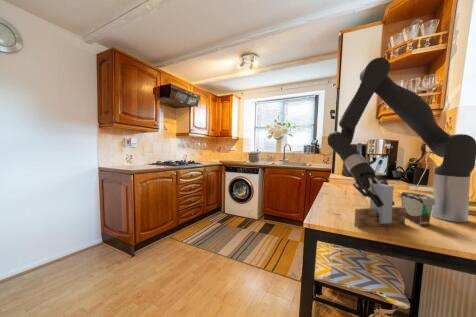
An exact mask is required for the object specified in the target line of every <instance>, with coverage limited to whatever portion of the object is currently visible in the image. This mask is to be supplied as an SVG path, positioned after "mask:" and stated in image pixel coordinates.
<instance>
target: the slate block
mask: <svg viewBox="0 0 476 317" xmlns="http://www.w3.org/2000/svg"><path fill="white" fill-rule="evenodd" d="M371 185H372V186H373V187H374V191H375V192H376V195H377V196H378V197H379V198H380V200H381V201H382V202H383V204H384V205H383V206H381V207H377V206H376V205H375V204H374V202H373V201H372V199H371V198H369V200H370V202H369V208H374V209H377V210H376V216H379V223H381V224H386V223H391V222H392V207H393V206H392V203H393V201H394V185H391V184H388V185H386V184H371Z"/></svg>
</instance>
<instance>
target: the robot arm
mask: <svg viewBox="0 0 476 317" xmlns="http://www.w3.org/2000/svg"><path fill="white" fill-rule="evenodd" d="M390 71H391V63H390V61H389V60H388V58H385V57H376V58H373V59H372V60H370V61H368V62H367V64H366V65H365V66H364V67H363V68H362V70H360V73H359V80H360V83H359V86H358V88H357V89H356V92H355V94H354V95H353V97H352V99H351V100H350V102H349V103H348V105H347V107H346V108H345V111H344V113H343V114H342V116H341V117H340V119H339V123H338V126H339V127H340V128H341V131H332V132H331V133H329V134H328V136H327V143H328V145H329V146H330V148H331V149H332V150H333V151H334V152H335V153H336V154H337V155H338V156H339V157H340V159H341V160H342V162H343V163H344V165H345V167H346V169H347V170H348V172H349V173H350V176H352V178H353V180H354V181H355V182H353V184H352V186H353V187H354V188H355V189H356V190H357V191H358V192H359V193H360V194H361V195H362V196H363V197H365V198H366V197H368V198H369V199H370V198H371V199H372V201H373V202H374V204H375V205H376V206H377V207H381V206H383V205H384V204H383V202H382V201H381V200H380V198H379V197H378V196H377V195H376V192H375V191H374V187H373V186H372V185H371V184H386V185H389V183H388V181H387V180H386V179H384V180H383V179H382V180H381V179H379V178H378V177H377V176H376V170H375V169H374V168H373V167H372V166H371V165H370V163H369V162H368V161H367V159H366V158H365V157H364V156H363V155H362V154H361V153H360V151H359V150H358V149H357V148H356V146H354V145H352V143H353V139H354V134H355V131H356V127H357V125H358V123H359V122H360V120H361V117H362V116H363V114H364V112H365V111H366V108H367V106H368V104H369V102H370V101H371V99H372V97H373V95H374V94H376V95H377V96H378V97H379V98H380V99H381V100H382V101H383V102H384V103H385V104H386V105H387V106H388V107H389V108H390V109H391V111H393V112H394V114H396V116H398V117H399V118H400V119H401V120H402V121H403V122H404V123H405V124H406V125H408V127H409V128H410V129H411V130H412V131H414V132H415V133H416V134H417V135H418V136H419V137H420V139H422V141H423V142H424V143H425V145H426V146H427V147H428V149H429V150H430V151H431V152H432V153H433V154H434V155H435V156H437V157H440V158H442V159H443V160H442V162H441V164H440V165H438V166H436V167H435V168H434V171H433V172H434V174H433V175H434V176H433V188H432V189H433V192H432V197H433V199H434V200H435V205H432V211H431V216H432V217H434V218H437V219H440V220H444V221H448V222H455V223H468V221H469V205H470V184H471V174H472V172H473V171H474V168H475V166H476V139H475V138H474V137H473V136H471V135H469V134H464V133H460V134H459V133H458V134H457V133H456V134H449V133H448V132H446V131H445V130H444V129H443V128H442V127H440V126H439V125H438V123H437V122H436V119H435V116H434V112H433V109H432V108H431V106H430V105H429V104H428V103H427V101H426V100H425V99H424V98H422V97H421V96H420V95H419V94H418V93H416V92H414V91H412V90H410V89H409V88H405V87H403V86H401V85H399V84H397V83H396V82H394V80H392V79H391V77H389V73H390ZM394 206H395V201H394V200H393V203H392V207H394Z"/></svg>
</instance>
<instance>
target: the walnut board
mask: <svg viewBox="0 0 476 317" xmlns="http://www.w3.org/2000/svg"><path fill="white" fill-rule="evenodd" d="M376 210H377V209H374V208H370V207H367V208H366V207H365V208H355V210H354V226H355V227H357V228H367V227H380V226H381V227H382V226H392V225H404V224H405V223H406V219H405V211H406V208H405V207H402V205H401V206H392V222H391V223H386V224H381V223H379V216H376Z"/></svg>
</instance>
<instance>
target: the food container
mask: <svg viewBox="0 0 476 317" xmlns="http://www.w3.org/2000/svg"><path fill="white" fill-rule="evenodd" d="M400 197H401V206H402V207H405V208H406V211H405V220H407V221H409V222H411V223H413V224H415V225H417V226H419V227H428V226H429V225H430V220H431V216H432V205H435V200H434V199H433V196H431V195H426V194H421V193H417V192H408V191H402V192H401V193H400Z"/></svg>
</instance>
